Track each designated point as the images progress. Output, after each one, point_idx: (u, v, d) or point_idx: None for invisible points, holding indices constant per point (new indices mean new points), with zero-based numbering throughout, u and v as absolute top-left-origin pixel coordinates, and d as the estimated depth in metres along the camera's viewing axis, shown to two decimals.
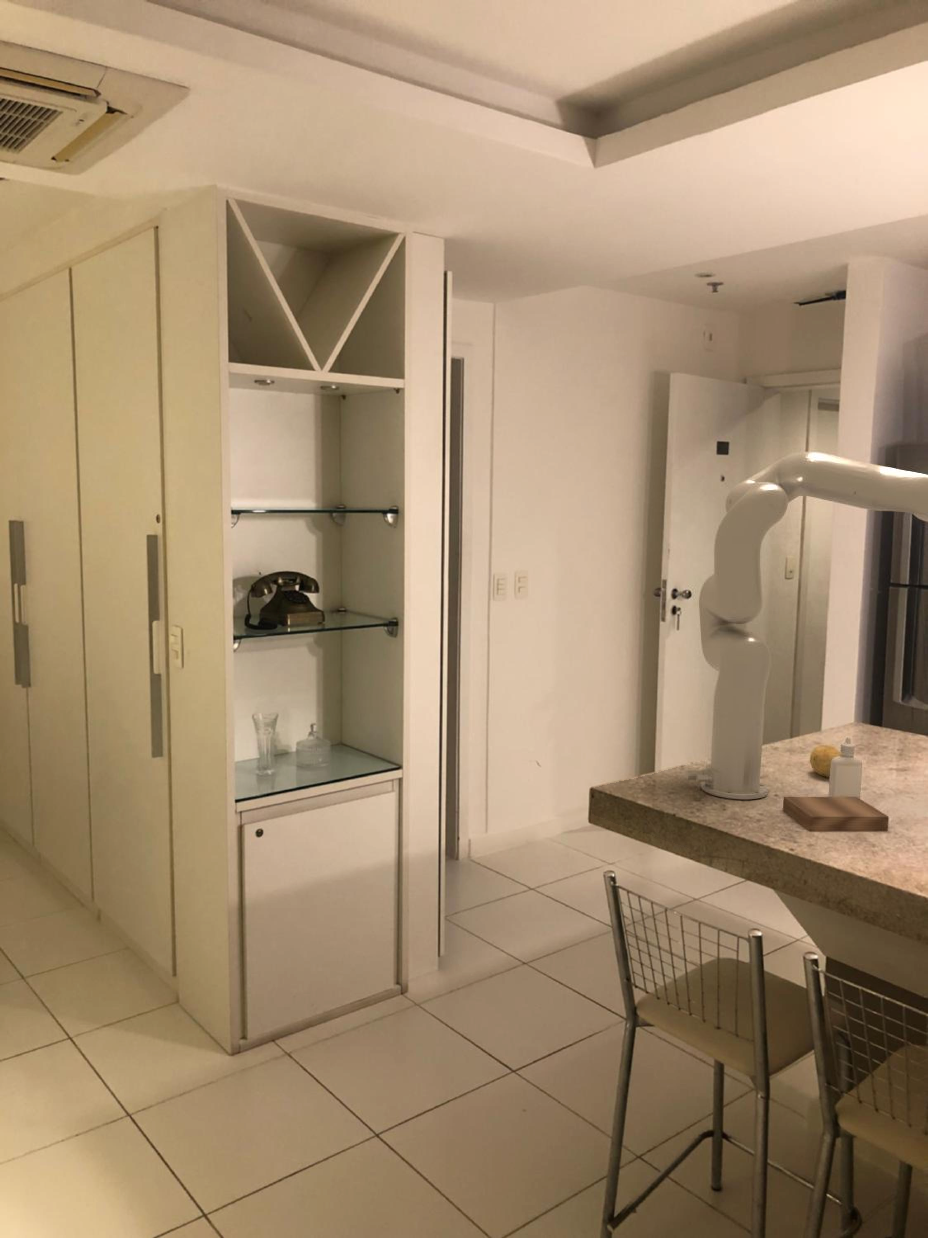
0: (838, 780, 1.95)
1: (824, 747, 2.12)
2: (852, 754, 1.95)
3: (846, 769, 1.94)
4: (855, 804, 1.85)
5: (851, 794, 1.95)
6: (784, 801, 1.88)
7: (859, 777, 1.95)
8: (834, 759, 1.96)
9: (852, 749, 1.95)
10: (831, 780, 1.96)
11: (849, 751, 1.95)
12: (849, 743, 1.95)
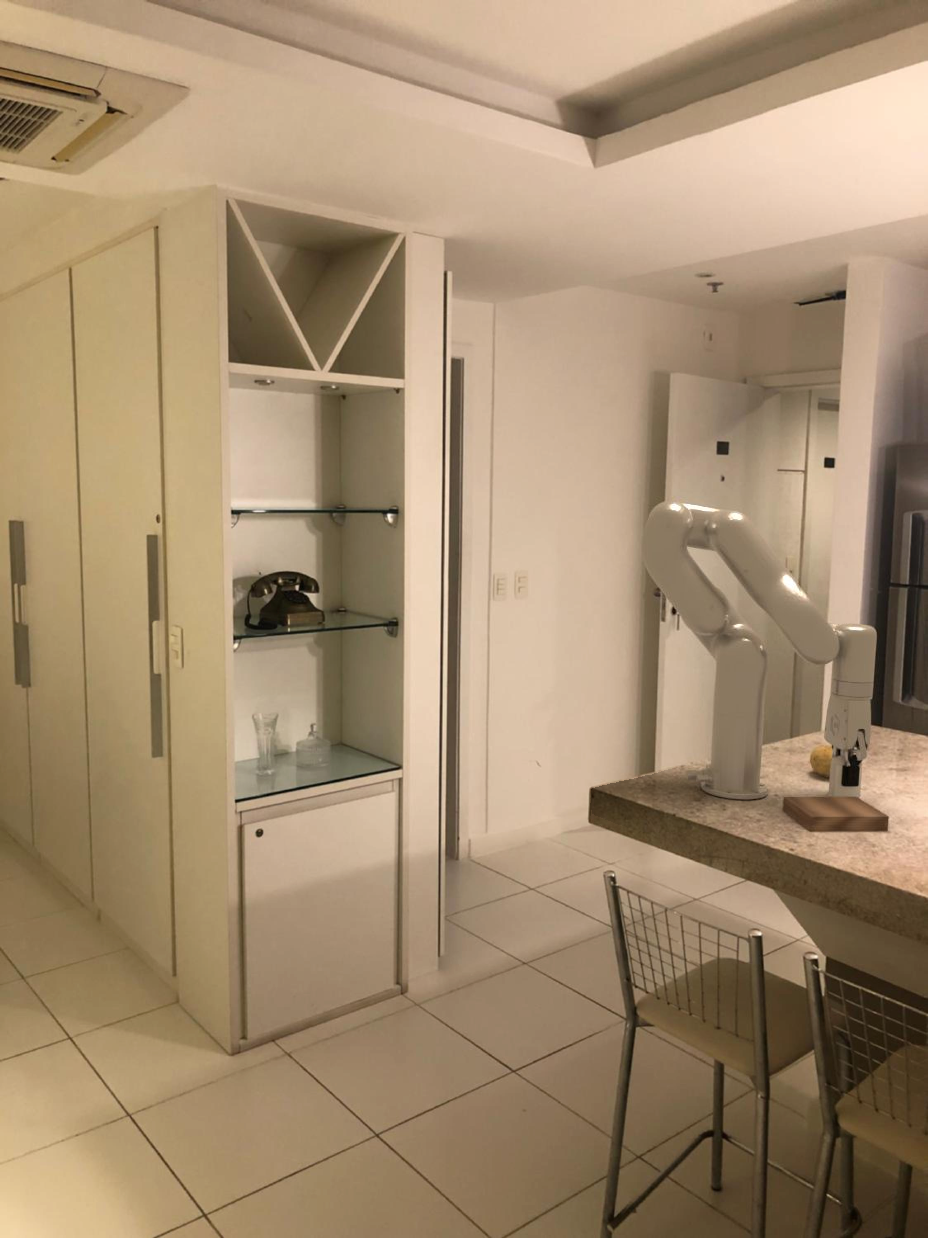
0: (838, 780, 1.95)
1: (824, 747, 2.12)
2: (852, 754, 1.95)
3: None
4: (855, 804, 1.85)
5: (851, 794, 1.95)
6: (784, 801, 1.88)
7: (859, 777, 1.95)
8: (834, 759, 1.96)
9: None
10: (831, 780, 1.96)
11: None
12: None
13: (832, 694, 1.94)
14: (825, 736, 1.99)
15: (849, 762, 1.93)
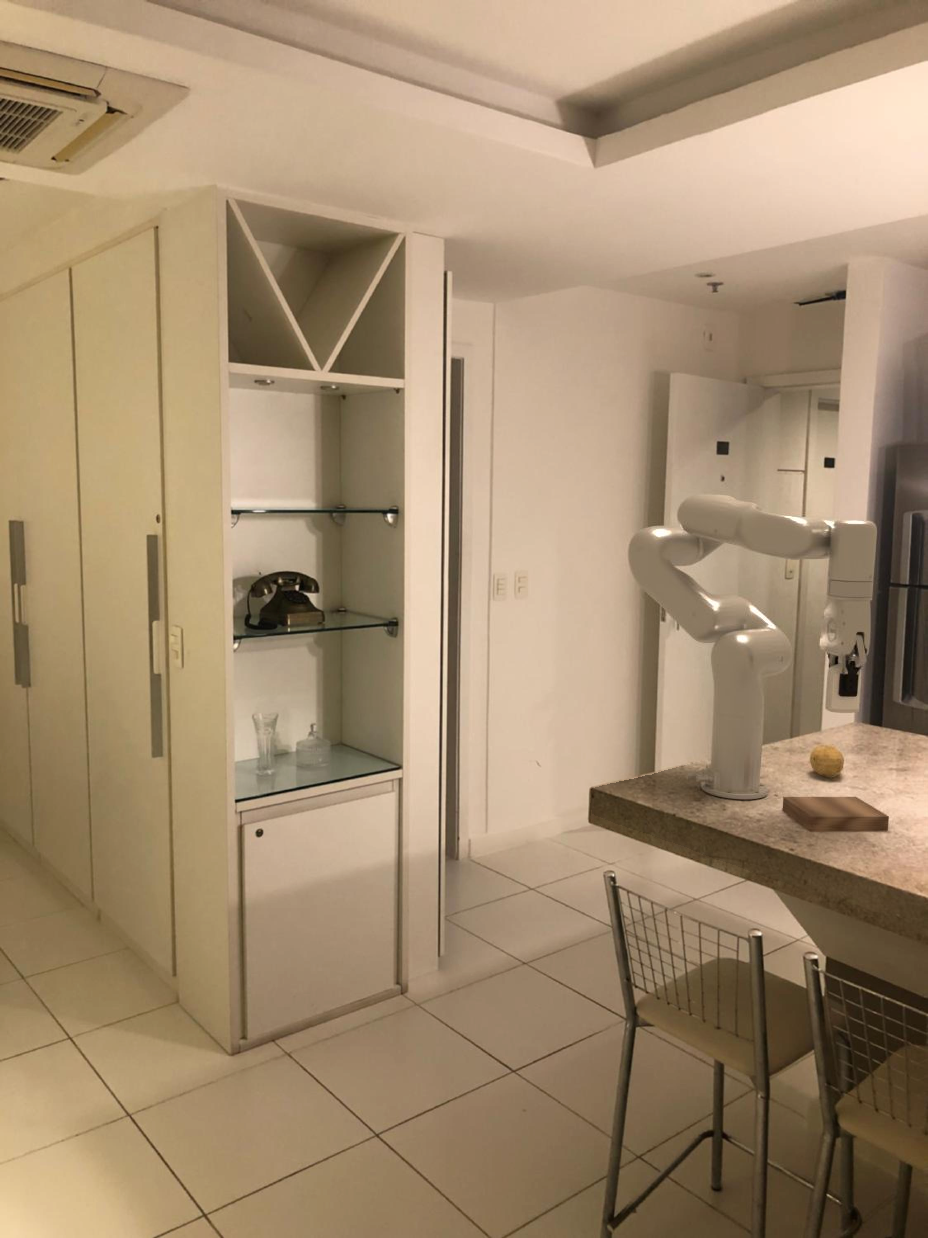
0: (836, 689, 1.79)
1: (824, 747, 2.12)
2: None
3: None
4: (855, 804, 1.85)
5: (850, 705, 1.79)
6: (784, 801, 1.88)
7: (858, 687, 1.79)
8: (831, 667, 1.80)
9: None
10: (828, 690, 1.80)
11: None
12: None
13: (828, 596, 1.78)
14: (821, 644, 1.83)
15: (847, 669, 1.77)
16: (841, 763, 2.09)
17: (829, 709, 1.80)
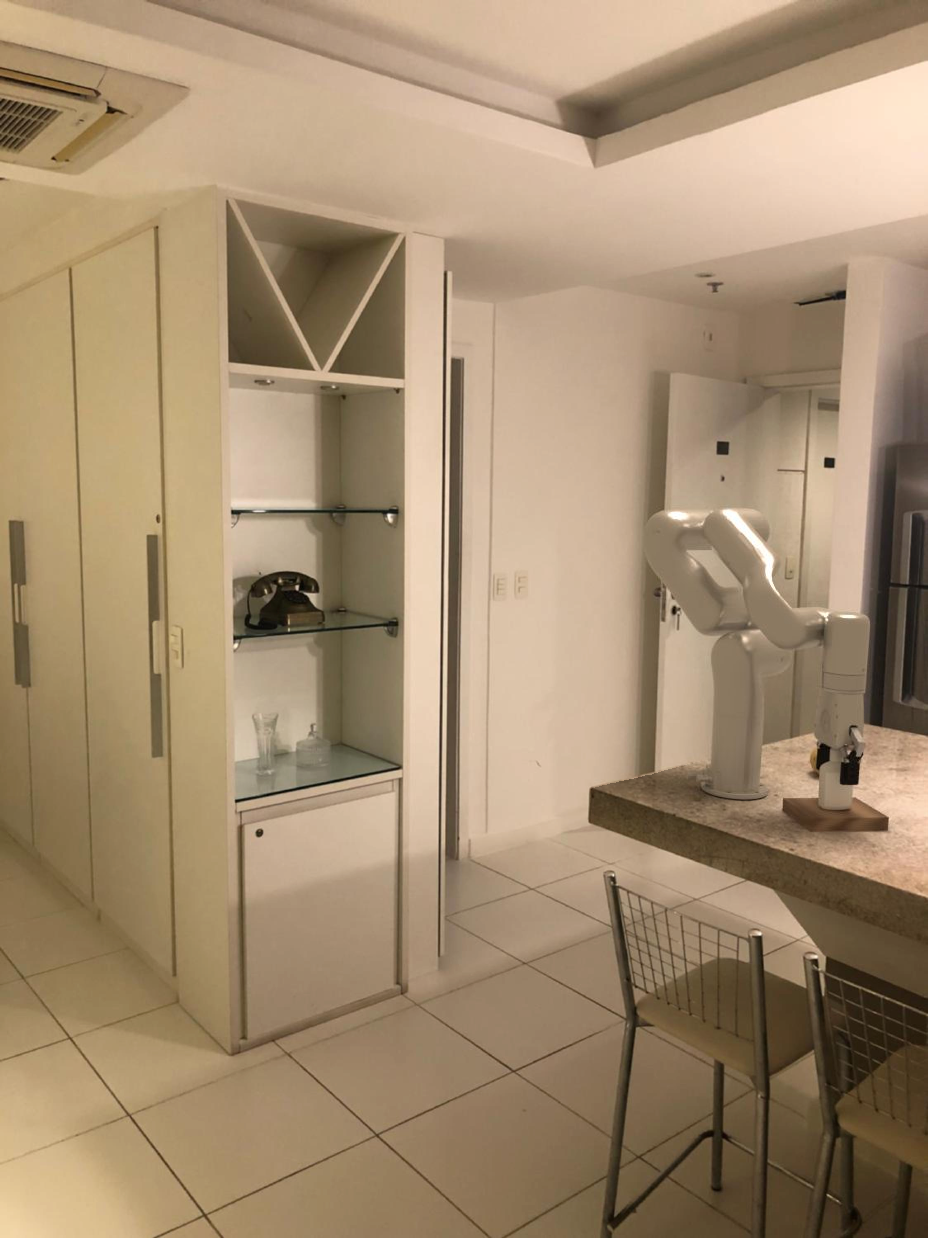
0: (828, 788, 1.81)
1: None
2: (842, 760, 1.80)
3: (836, 777, 1.80)
4: (855, 805, 1.85)
5: (842, 802, 1.81)
6: (784, 803, 1.88)
7: None
8: (823, 766, 1.81)
9: None
10: (820, 788, 1.82)
11: (839, 757, 1.80)
12: (839, 748, 1.81)
13: (822, 688, 1.80)
14: (815, 733, 1.85)
15: (848, 758, 1.76)
16: None
17: (822, 807, 1.82)
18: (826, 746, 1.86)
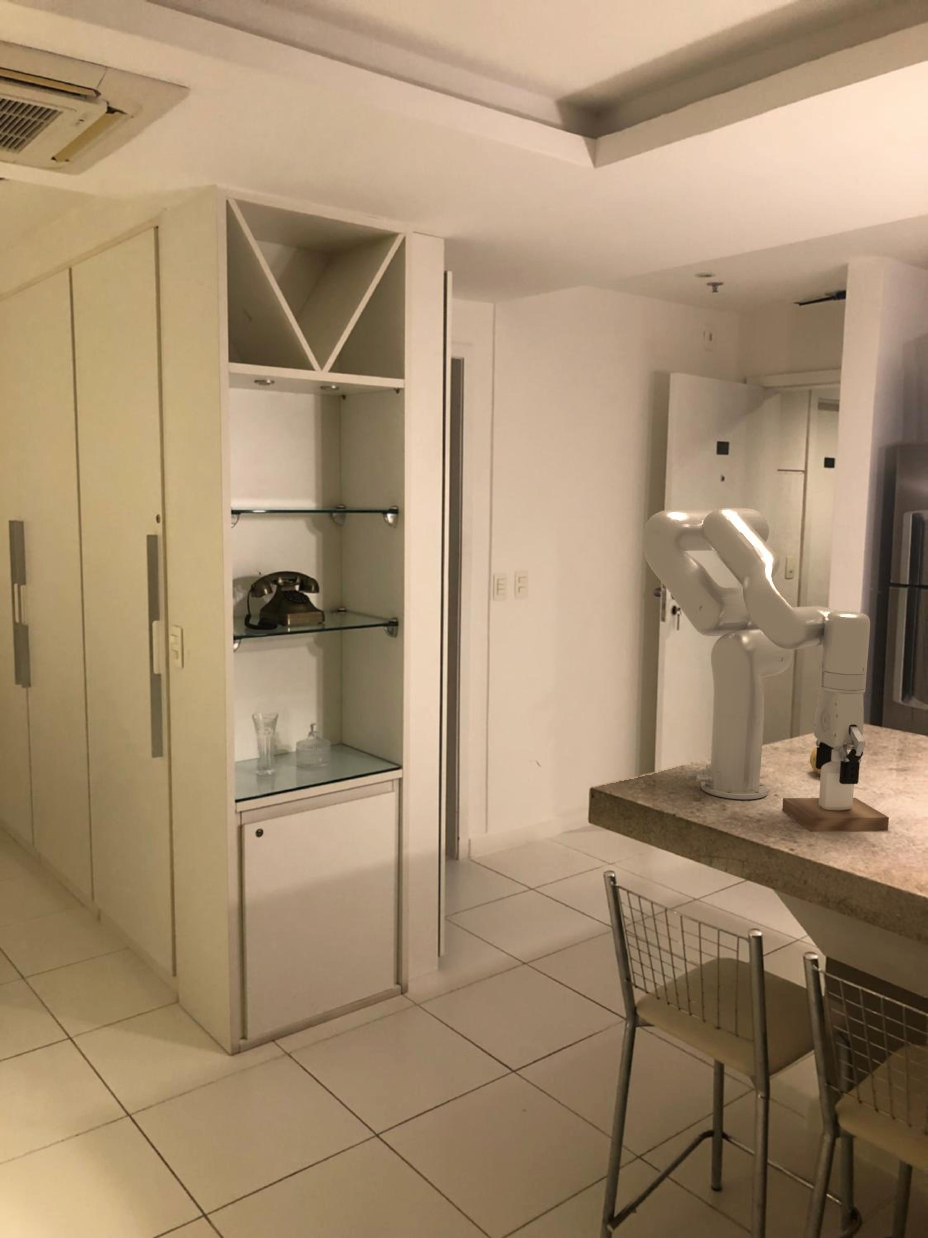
0: (830, 788, 1.80)
1: None
2: None
3: (837, 777, 1.80)
4: (855, 805, 1.85)
5: (843, 803, 1.81)
6: (784, 802, 1.88)
7: (851, 784, 1.81)
8: (825, 766, 1.81)
9: None
10: (822, 788, 1.81)
11: (841, 757, 1.80)
12: None
13: (822, 687, 1.80)
14: (815, 732, 1.85)
15: (848, 757, 1.76)
16: None
17: (823, 807, 1.81)
18: (826, 745, 1.87)
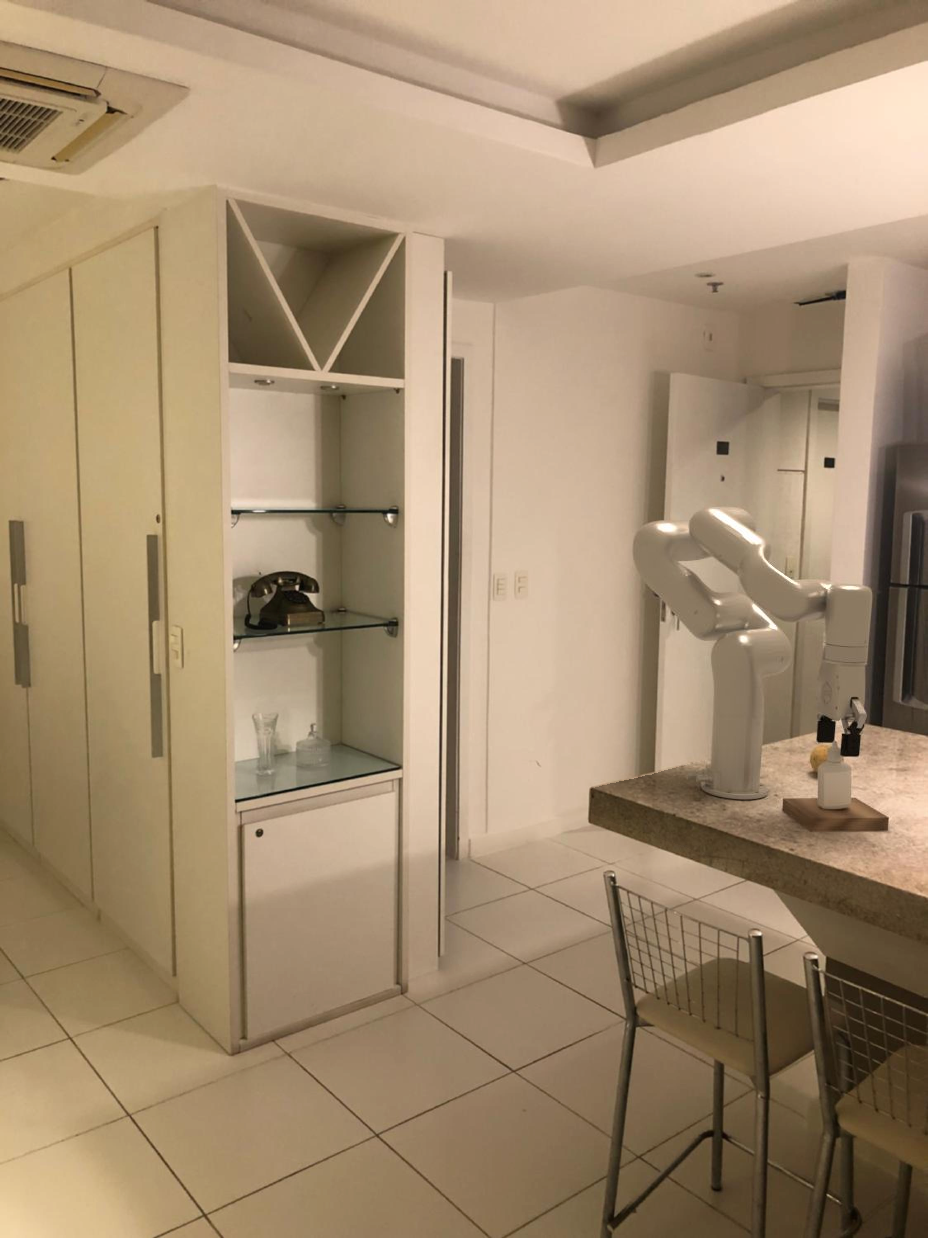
0: (827, 788, 1.81)
1: (824, 747, 2.12)
2: (840, 759, 1.81)
3: (835, 776, 1.80)
4: (855, 805, 1.85)
5: (842, 801, 1.81)
6: (784, 803, 1.88)
7: (849, 783, 1.81)
8: (821, 766, 1.81)
9: None
10: (819, 788, 1.82)
11: (837, 756, 1.80)
12: (836, 747, 1.81)
13: (823, 659, 1.80)
14: (816, 705, 1.85)
15: (849, 730, 1.75)
16: None
17: (822, 806, 1.82)
18: (827, 718, 1.86)
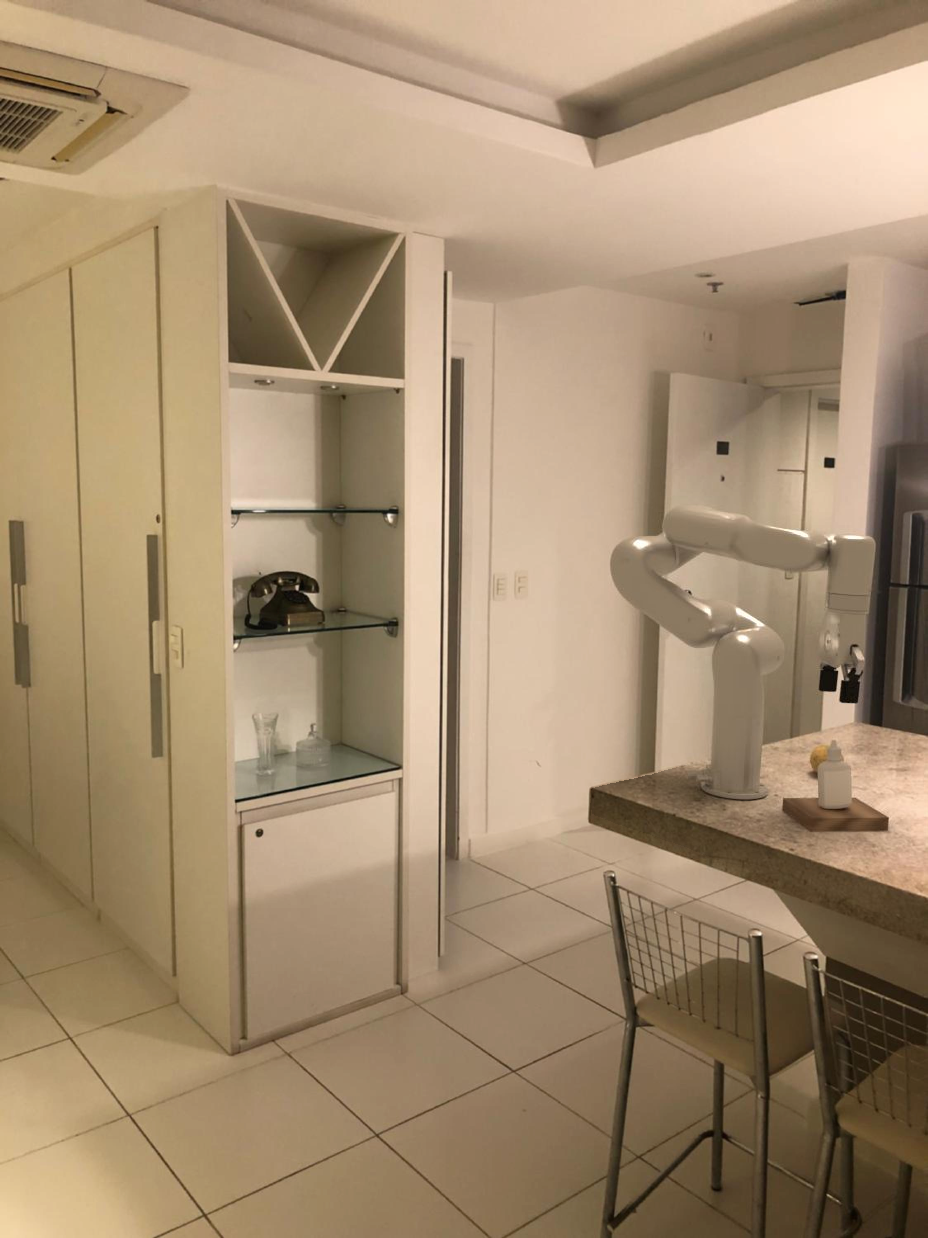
0: (828, 787, 1.81)
1: (824, 747, 2.12)
2: (839, 758, 1.81)
3: (835, 775, 1.81)
4: (855, 805, 1.85)
5: (843, 801, 1.81)
6: (784, 802, 1.88)
7: (849, 782, 1.81)
8: (821, 765, 1.82)
9: (839, 752, 1.81)
10: (820, 788, 1.82)
11: (836, 755, 1.81)
12: (835, 746, 1.81)
13: (826, 608, 1.83)
14: (818, 654, 1.88)
15: (848, 676, 1.79)
16: None
17: (823, 806, 1.82)
18: (829, 668, 1.90)
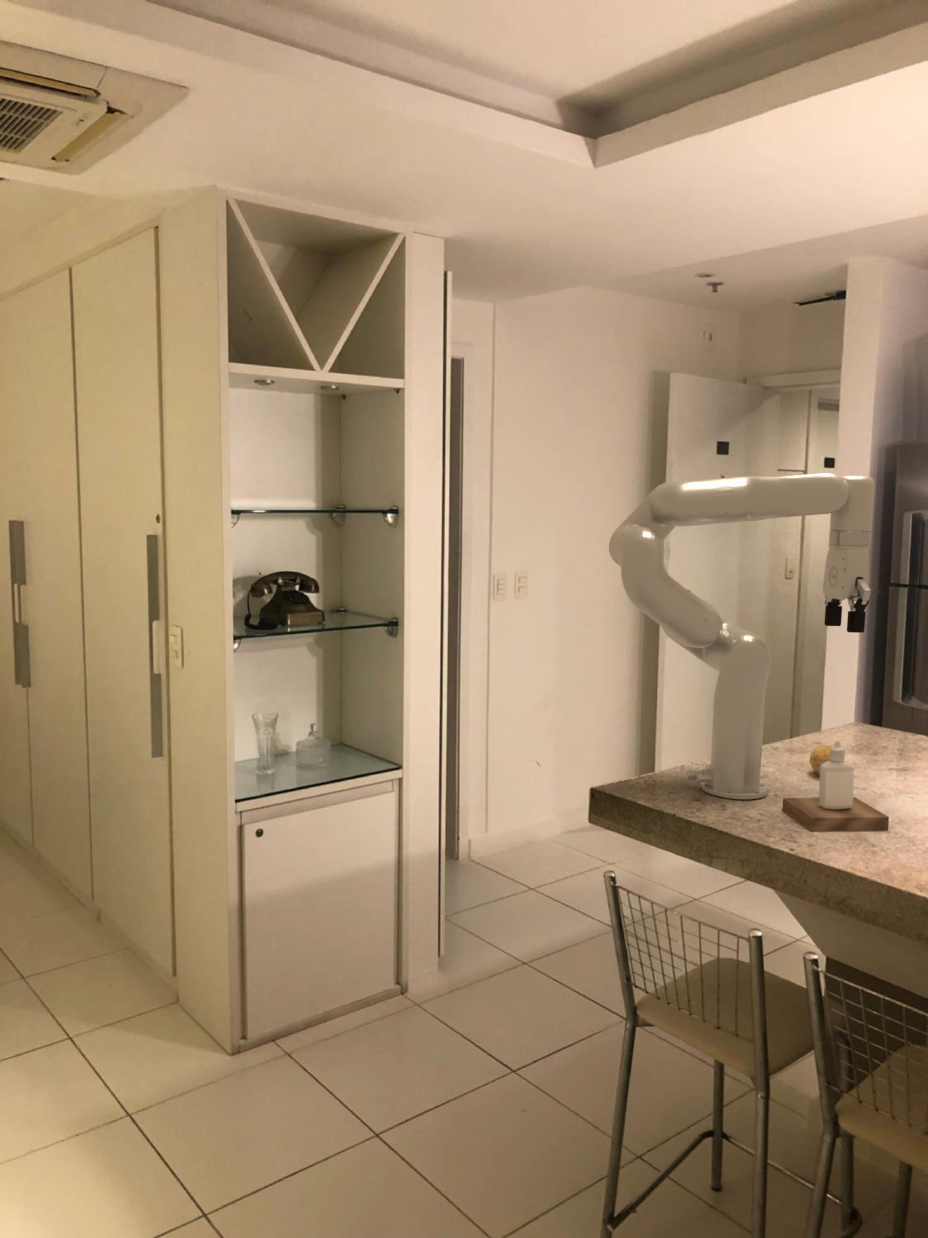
0: (829, 787, 1.81)
1: (824, 747, 2.12)
2: (842, 759, 1.81)
3: (836, 776, 1.80)
4: (855, 805, 1.85)
5: (843, 802, 1.81)
6: (784, 802, 1.88)
7: (851, 783, 1.81)
8: (823, 765, 1.82)
9: (842, 753, 1.81)
10: (821, 788, 1.82)
11: (839, 756, 1.81)
12: (839, 747, 1.81)
13: (830, 545, 1.96)
14: (823, 590, 2.01)
15: (855, 606, 1.91)
16: None
17: (823, 806, 1.82)
18: (834, 603, 2.02)
